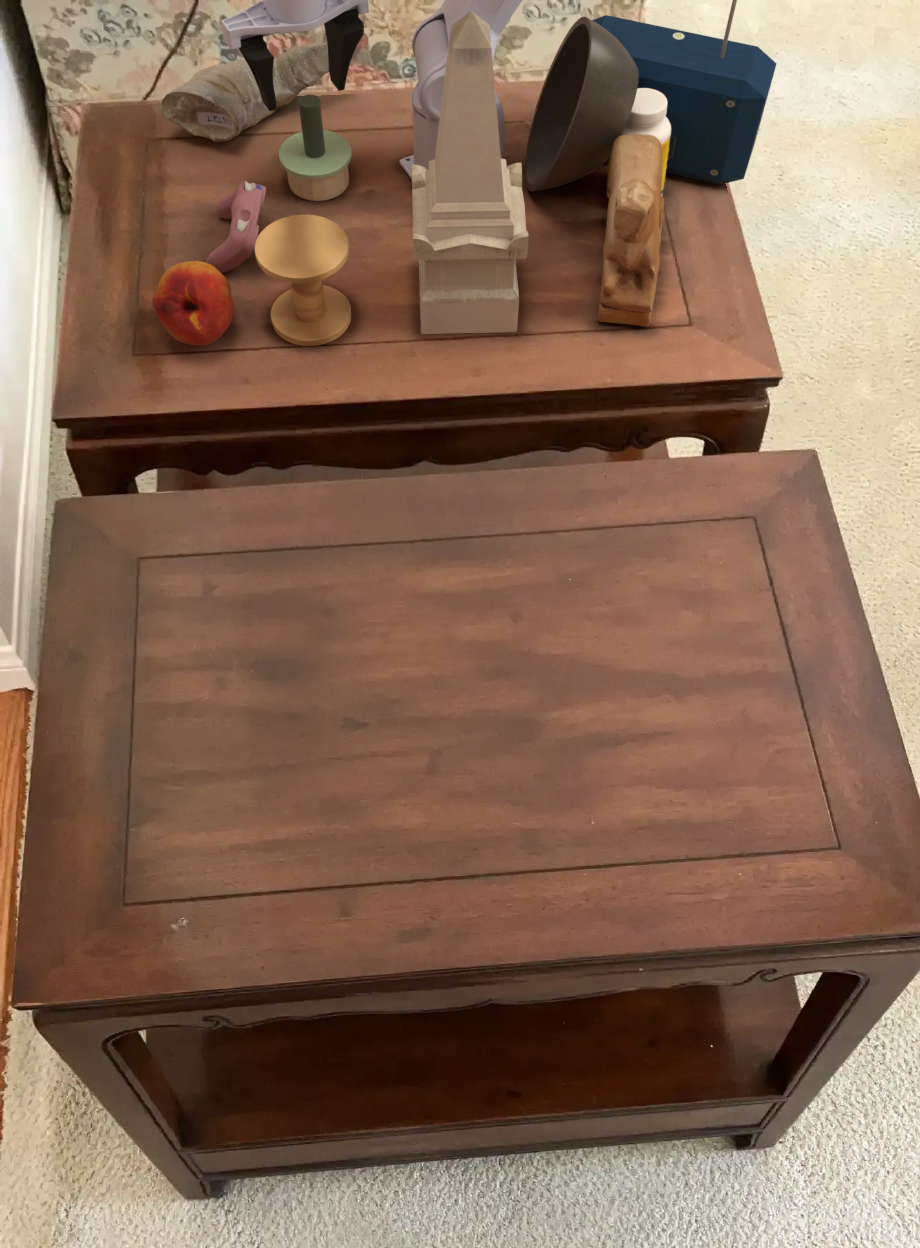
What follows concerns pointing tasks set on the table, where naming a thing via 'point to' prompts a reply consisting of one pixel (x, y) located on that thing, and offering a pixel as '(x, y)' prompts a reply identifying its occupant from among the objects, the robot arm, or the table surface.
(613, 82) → the bowl
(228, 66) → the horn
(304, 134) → the cover
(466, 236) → the miniature monument
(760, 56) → the radio
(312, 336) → the stand
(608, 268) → the sculpture
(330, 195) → the dish
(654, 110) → the pill bottle
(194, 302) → the fruit
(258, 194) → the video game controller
